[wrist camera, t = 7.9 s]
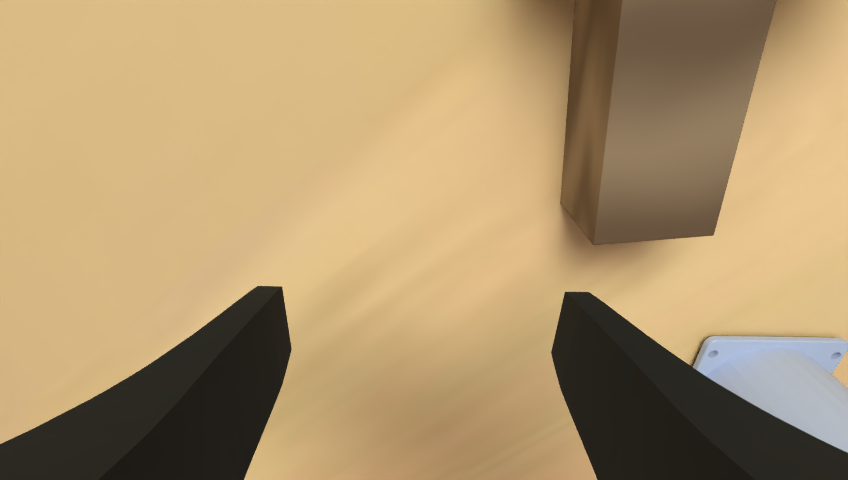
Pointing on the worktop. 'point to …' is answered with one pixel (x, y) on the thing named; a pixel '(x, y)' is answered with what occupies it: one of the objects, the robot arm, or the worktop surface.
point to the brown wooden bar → (657, 113)
